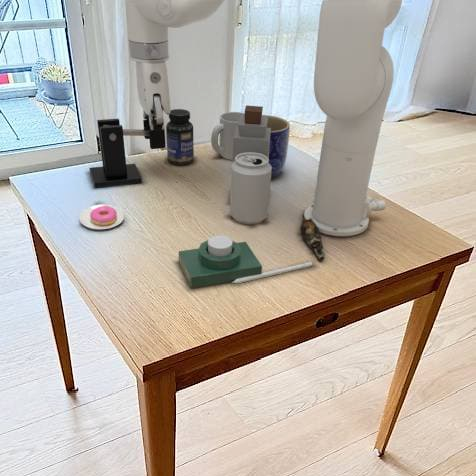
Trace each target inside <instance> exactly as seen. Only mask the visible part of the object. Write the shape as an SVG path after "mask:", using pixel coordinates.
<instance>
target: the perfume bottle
mask: <svg viewBox="0 0 476 476" xmlns="http://www.w3.org/2000/svg"><path fill="white" fill-rule="evenodd" d="M244 107H245V108H244V113H245V116H243V115H240V118H239V122H238V126H237V127H236V130H235V134H234V137H233V160H231V161H232V163H233V162H234V161H235V157H236V156H237V155H238V154H241V153H246V152H254V153H260V154H263V155H265V156H267V157H268V159H269V146H270V134H271V128H266V127H267V121H268V117H262V115H263V110H264V106H259V105H245V106H244ZM232 163H231V164H232Z"/></svg>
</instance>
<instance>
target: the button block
mask: <svg viewBox="0 0 476 476" xmlns="http://www.w3.org/2000/svg"><path fill="white" fill-rule="evenodd" d="M208 240H209V239H207V240H205V241H203V242H201V243H200V245H199V246H198V248H192V249H185V250H179V251H178V263H179V265H180V267H181V269H182V271H183V273H184V276H185V278H186V280H187V282H188V285H189V287H190V289H196V288H203V287H209V286H214V285H219V284H220V285H221V284H226V283H232V282H234V281H235V280H236V279H238V278H243V277H248V276H253V275H259V274H261V273H263V272H262V270H263V265H262V264H261V262H260V260H259V259H258V257H257V256H256V255H255V252H253V250H252V249H251V247H250V246H249V245H248V243H247V242H246V241H240V242H239V241H238V242H236V241H235V240H232V242H233V243H232V253H231V254H230V255H229V256H224V257H217V256H212V255H210V254H209V253H208Z"/></svg>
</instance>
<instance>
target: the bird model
mask: <svg viewBox="0 0 476 476" xmlns="http://www.w3.org/2000/svg"><path fill="white" fill-rule="evenodd" d="M302 217H303V220H302V222H301V224H300V228H299V229H300V234H301V236H302V239H303V240H304V241H305V243H306V244H307V245H308V246H309V248H311V250H312V252H313V253H315V255H316V257H317V259H319V260H320V261H322V260H324V259H325V253H324V251H323V249H324V246H323V242H322V236H321V233H320V232H319V230H318V228H317V226H316V224H315V223H314V221H312V220H307V219H305V217H304V214H303V215H302Z"/></svg>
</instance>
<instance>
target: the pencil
mask: <svg viewBox="0 0 476 476" xmlns="http://www.w3.org/2000/svg"><path fill="white" fill-rule="evenodd" d="M311 267H313V262H312V261H308V262H307V261H306V262H302V263H299V264H295V265H291V266H286V267H282V268H278V269H274V270H269V271H265V272H262V273H261V274H259V275H253V276H248V277H243V278H238V279H236V280H235V281H233V282H231V283H232V284H237V285H239V284H241V283H247V282H252V281H255V280H256V281H257V280H259V279H260V280H261V279H264V278H268V277H271V276H272V277H273V276H277V275H281V274H285V273H289V272H294V271H297V270H302V269H307V268H311Z"/></svg>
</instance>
